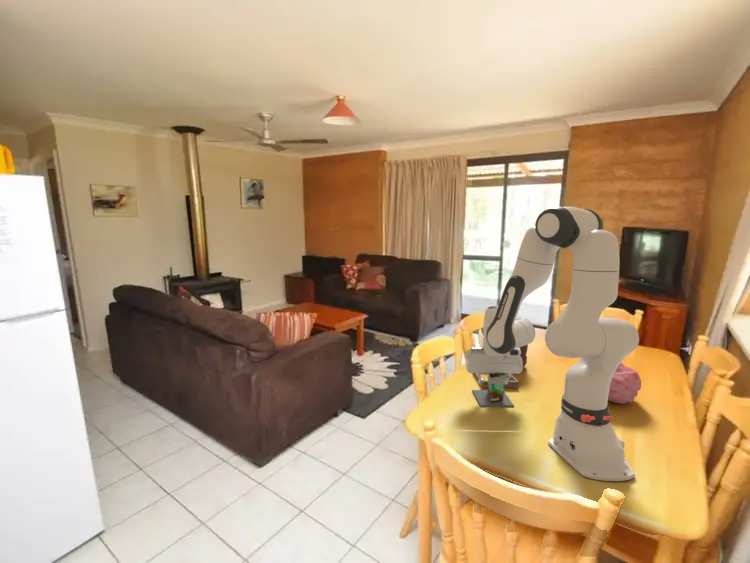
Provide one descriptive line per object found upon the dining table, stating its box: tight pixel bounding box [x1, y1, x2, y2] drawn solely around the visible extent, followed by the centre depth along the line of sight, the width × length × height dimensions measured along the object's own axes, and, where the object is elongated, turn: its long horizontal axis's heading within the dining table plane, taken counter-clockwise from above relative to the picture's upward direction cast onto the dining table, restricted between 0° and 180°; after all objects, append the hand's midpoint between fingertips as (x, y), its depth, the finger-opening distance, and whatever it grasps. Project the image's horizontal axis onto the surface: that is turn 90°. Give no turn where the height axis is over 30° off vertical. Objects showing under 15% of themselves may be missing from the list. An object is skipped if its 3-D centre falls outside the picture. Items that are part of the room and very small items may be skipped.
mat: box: [471, 389, 515, 408], centre depth 136 cm, size 12×12×1 cm
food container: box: [487, 373, 507, 403], centre depth 135 cm, size 12×6×10 cm, turn 169°
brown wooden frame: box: [474, 373, 520, 390], centre depth 153 cm, size 17×14×3 cm
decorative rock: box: [608, 362, 642, 405], centre depth 133 cm, size 19×14×15 cm
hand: (492, 383), depth 135 cm, fingers open, 8 cm apart
